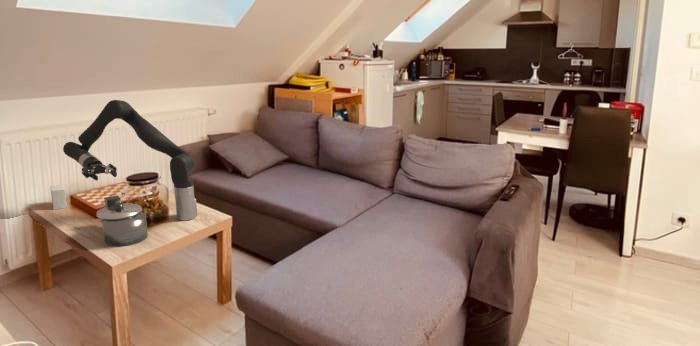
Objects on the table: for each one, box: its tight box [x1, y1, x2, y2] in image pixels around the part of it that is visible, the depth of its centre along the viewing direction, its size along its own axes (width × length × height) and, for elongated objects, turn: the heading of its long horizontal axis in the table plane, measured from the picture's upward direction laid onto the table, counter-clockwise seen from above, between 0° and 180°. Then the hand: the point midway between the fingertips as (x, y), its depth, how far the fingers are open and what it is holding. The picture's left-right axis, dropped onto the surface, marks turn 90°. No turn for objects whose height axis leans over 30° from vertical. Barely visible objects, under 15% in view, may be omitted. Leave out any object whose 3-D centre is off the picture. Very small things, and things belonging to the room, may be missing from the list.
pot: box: [101, 211, 149, 247], centre depth 212 cm, size 18×18×10 cm
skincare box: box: [49, 184, 68, 210], centre depth 250 cm, size 10×6×10 cm, turn 35°
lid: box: [96, 195, 143, 221], centre depth 217 cm, size 19×24×4 cm
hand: (106, 177), depth 219 cm, fingers open, 8 cm apart
